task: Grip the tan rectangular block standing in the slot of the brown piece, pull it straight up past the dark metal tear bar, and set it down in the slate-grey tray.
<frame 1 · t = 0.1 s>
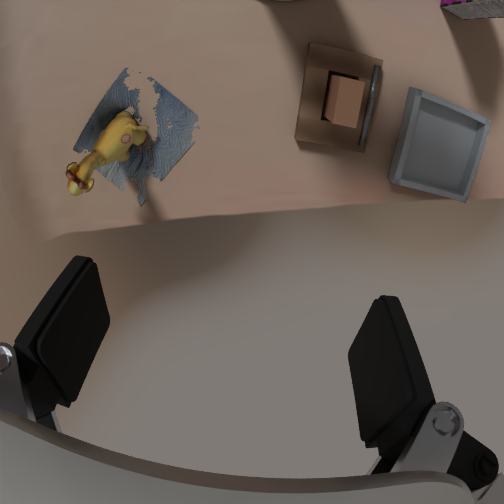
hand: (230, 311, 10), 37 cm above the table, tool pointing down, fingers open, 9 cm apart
stuffed giraffe: (134, 135, 43), on the table
tray: (438, 145, 39), on the table
brown piece: (337, 96, 38), on the table
tan rectangular block: (336, 96, 38), resting in brown piece
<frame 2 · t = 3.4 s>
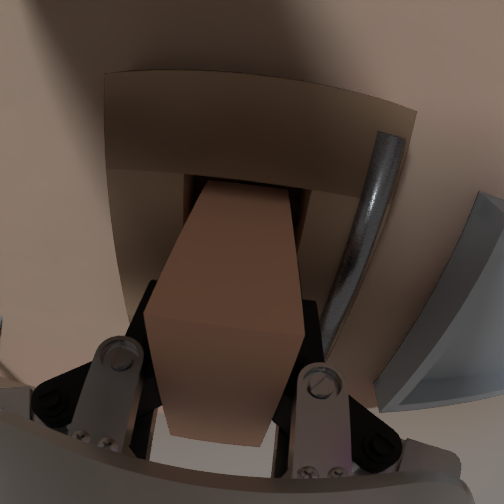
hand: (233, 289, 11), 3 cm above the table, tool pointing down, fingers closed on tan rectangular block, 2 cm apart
tray: (500, 314, 15), on the table
brown piece: (241, 241, 13), on the table
tan rectangular block: (239, 251, 13), point 1 cm above the table, touching gripper
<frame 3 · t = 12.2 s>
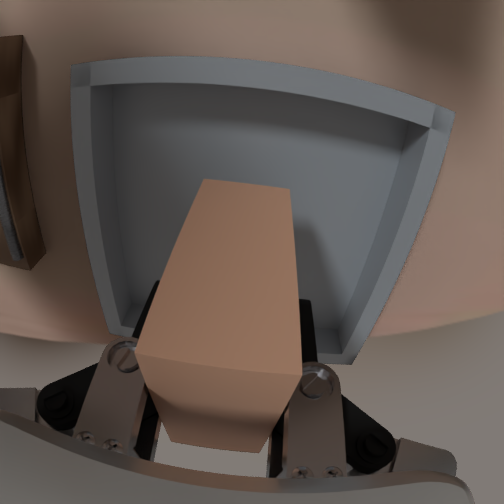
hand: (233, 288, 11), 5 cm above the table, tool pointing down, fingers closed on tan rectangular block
tray: (245, 219, 15), on the table
tan rectangular block: (239, 251, 12), point 3 cm above the table, touching gripper
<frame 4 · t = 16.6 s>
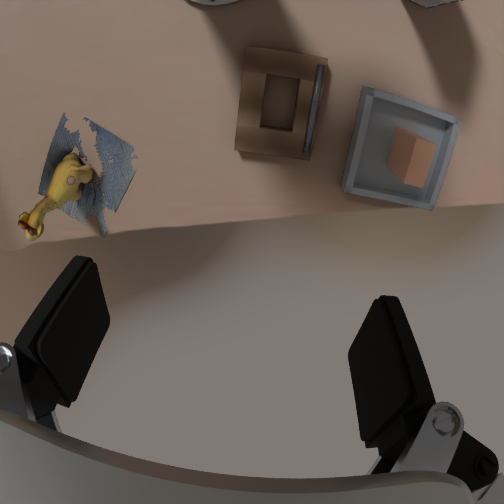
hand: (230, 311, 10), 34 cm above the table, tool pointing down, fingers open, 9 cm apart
stuffed giraffe: (84, 173, 44), on the table
tray: (399, 148, 39), on the table
brown piece: (279, 101, 37), on the table
tan rectangular block: (399, 148, 38), resting on tray
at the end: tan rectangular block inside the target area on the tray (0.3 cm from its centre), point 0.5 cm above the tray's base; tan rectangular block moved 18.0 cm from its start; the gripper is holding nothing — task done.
